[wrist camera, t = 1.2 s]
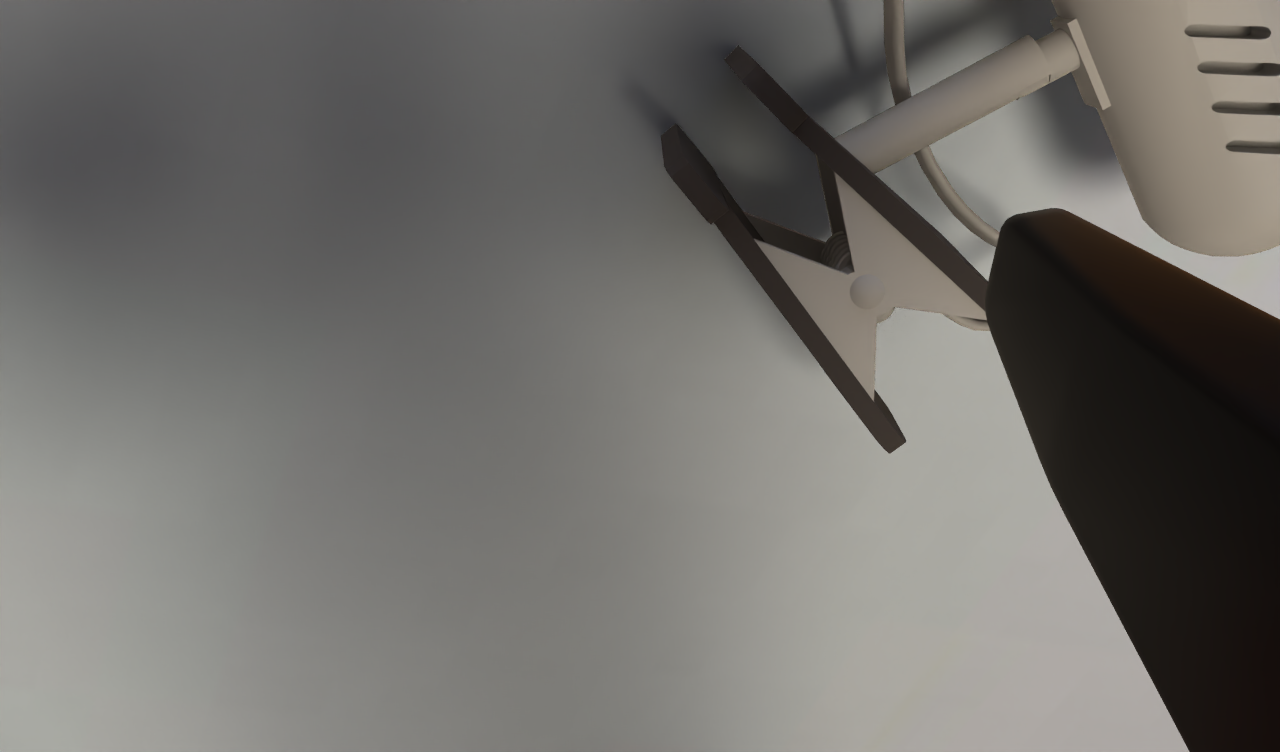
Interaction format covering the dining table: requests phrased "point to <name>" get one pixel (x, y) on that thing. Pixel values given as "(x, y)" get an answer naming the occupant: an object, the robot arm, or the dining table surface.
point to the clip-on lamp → (1081, 43)
